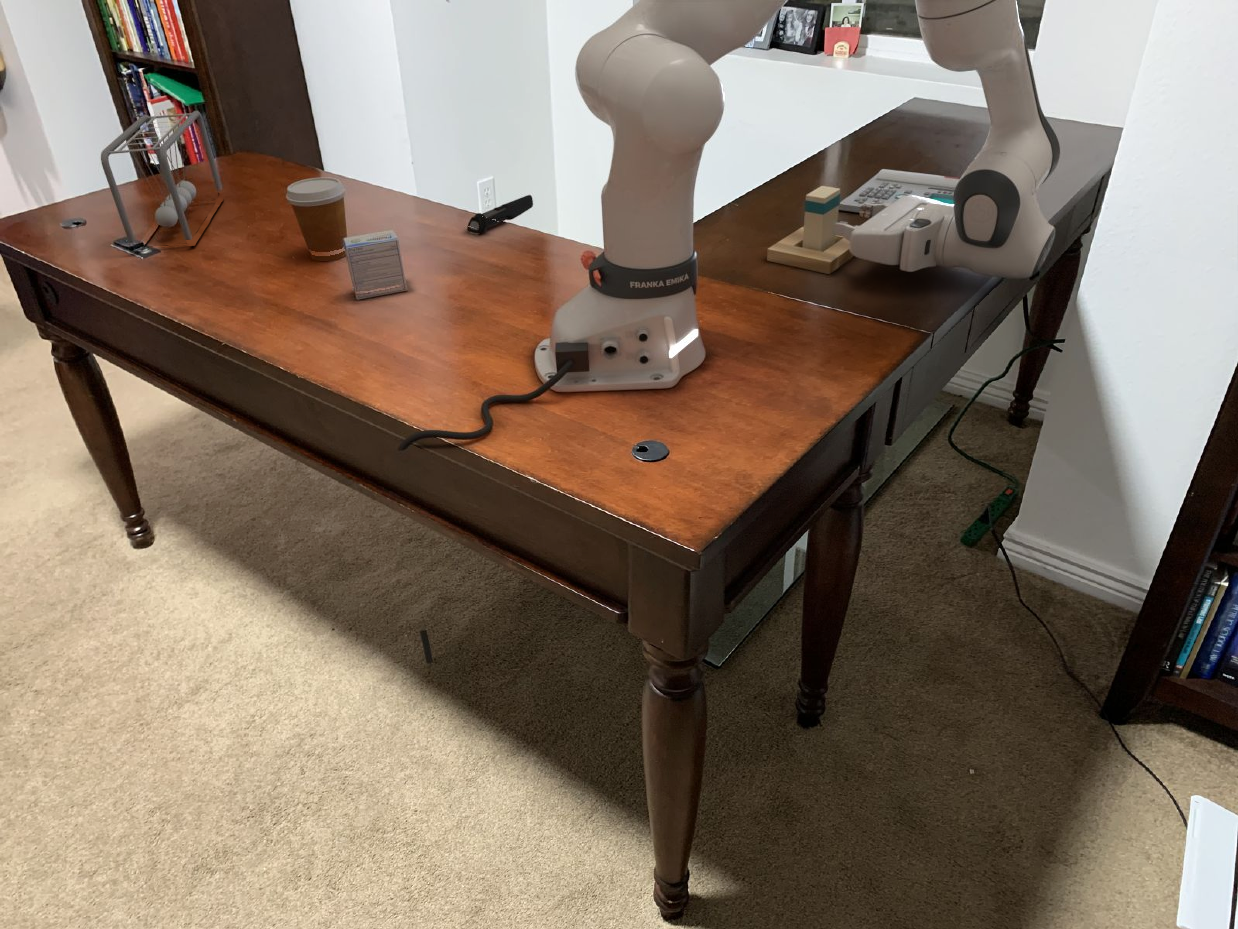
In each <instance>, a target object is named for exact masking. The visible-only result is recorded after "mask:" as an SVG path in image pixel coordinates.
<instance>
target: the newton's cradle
mask: <svg viewBox="0 0 1238 929" xmlns="http://www.w3.org/2000/svg"><path fill="white" fill-rule="evenodd" d="M176 117H177V118H178V117H180V118H179V119H178V120H173V121H171V123H175V124H174V125H168V126H165V128H170V129H168V130H164V131H161V133H165V134H164V135H163V136H161V135H160V137H159V135H158V131H156V129H158V128H162V126H156V127H155V125H154V124H155V122H154V121H155V120H156V119H164V118H176ZM186 117H187V118H186ZM184 119H185V120H184ZM195 121H197V125H198V128H199V132H200V136H201V139H202V143H203V146H204V149H205V153H206V157H207V161H208V164H209V168H210V171H211V174H212V177H213V178H212V179H213V181H214V185H215V189H216V191H217V190H222V189H223V185H222V181H221V178H220V174H219V171H218V168H217V163H216V160H215V156H214V153H213V149H212V144H211V142H210V139H209V138H210V137H209V135H208V131H207V128H206V124H205V120H204V118H203V115H202V113H201V112H200V111H199V110H194V111H192V112H190V113H177V114H165V115H152V116H151V115H148V114H142V115H141V116H140V117H139V118H138V119H137V120H136V121H134V122H133V123H132V124H131V125H130V126H129V127H128V128H126V129H125V130H124V131H123V132H122V133H121V134H119V135H118V136H117V137H116V138H115V139H114V140H113V141H112V142H110V143H109V144H108V145H107V146H106V147H105V148H103V150H101V152H100V164H101V167H102V169H103V172H104V175H105V178H106V181H107V184H108V186H109V189H110V192H111V195H112V198H113V200H114V203H115V206H116V209H117V213H118V215H119V218H120V221H121V223H122V227H123V230H124V232H125V235H126V238H127V241H128V243H133V242H136V243H137V240H136V237H135V234H134V231H133V229H132V226H131V222H130V219H129V217H128V214H127V211H126V209H125V205H124V203H123V200H122V196H121V193H120V191H119V188H118V185H117V183H116V180H115V176H114V173H113V170H112V167H111V165H110V158H109V156H110V155H112V154H113V155H116V154H126V153H132V156H133V158H134V160H135V162H136V163H137V165H138V167H139V169H140V171H141V173H142V175H143V177H144V179H145V180H146V183H147V184H148V186H149V188H150V190H151V192H152V193H153V195H154V197H155V199H156V201H157V203H158V205H159V206H160V207H158V208H157V209H156V210H155V212H154V219H155V221H157V223H158V224H159V225H160V227H163V228H172V227H174V226H175V225H176V224H177V223H178V221H179V223H180V227H181V230H182V233H183V237H184V239H185V241H186V240H190V239H192V238H193V236H192V234H191V231H190V227H189V224H188V220H187V218H186V215H185V211H186V210H187V208H188V206H190V205H191V204H190V203H191V202H192V201H193V200H194V199H195V197H196V196H197V189H196V186H195V185H194V184H193V183H192V182H191V181H188V180H186V178H185V170H184V168H185V167H184V160H183V151H182V142H181V136H182V135H183V134H184V133H185V132H186V130H187V129H188V128H189V127H190V126H191V125H192V124H193V123H194V122H195ZM181 122H182V123H181ZM165 123H166V124H167V121H160V122H159V121H158V124H165ZM180 123H181V124H180ZM144 130H145V132H143V131H144ZM134 133H135V134H134ZM171 133H172V134H171ZM133 134H134V135H133ZM142 134H143V135H144V134H147V136H148V139H149V140H150V142H149V144H152V145H153V146H152V147H148V145H147V143H146V142H145V141H144V140H145V139H144V137H143V136H142ZM138 136H140V137H139V138H137V137H138ZM167 137H168V138H167ZM166 138H167V139H166ZM165 139H166V140H165ZM136 140H142V142H140V143H139V142H138V143H137V141H136ZM177 140H179V147H180V156H181V166H182V167H181V168H182V174H183V179H182V180H181V178H180V174H179V164H178V155H177V146H176V142H177ZM133 141H134V144H135V145H136V147H137V148H135V149H132V148H131V147H130V146H131V145H132V146H133V143H131V142H133ZM123 143H124V144H123ZM140 144H141V145H143V144H144V146H145V148H140V147H139V145H140ZM173 145H174V151H175V152H174V153H175V161H176V168H175V166H174V165H173V159H172V150H171V149H172V148H171V147H172V146H173ZM120 146H121V147H120ZM126 147H128V148H129V149H125V148H126ZM168 150H169V155H170V156H169V155H168ZM151 151H152V152H153V151H154V152H155V155H156V158H157V161H158V165H159V167H158V165H157V162H156V161H155V159H154V157H153V155H152V153H151ZM135 152H136V153H138V152H140V154H141V156H142V158H143V160H144V162H145V164H146V166H147V168H148V170H149V171H150V173H151V176H152V177H153V179H154V182H155V183H156V185H157V186H158V189H159V190H160V193H161V195H162V196H163V201H162V202H161V203H160V201H159V199H158V198H157V195H156V194H155V191H154V189H153V188H152V186H151V183H150V182H149V180H148V179H147V177H146V174H145V173H144V171H143V169H142V167H141V166H140V163H139V161H138V160H137V158H136V156H135V154H134V153H135ZM142 152H148V153H149V156H150V157H151V160H152V161H153V163H154V165H155V167H156V169H157V170H158V173H159V174H160V179H161V187H160V185H159V183H158V181H157V179H156V176H155V175H154V173H153V171H152V170H151V168H150V166H149V164H148V161H147V159H146V158H145V156H144V155H143V153H142ZM174 173H175V174H176V176H177V179H178V181H177V184H176V182H175V178H174V177H175V176H174ZM164 184H165V187H166V189H167V194H168V195H167V196H165V189H164ZM161 188H162V189H161ZM223 190H224V189H223Z"/></svg>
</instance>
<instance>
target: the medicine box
mask: <svg viewBox="0 0 1238 929" xmlns="http://www.w3.org/2000/svg"><path fill="white" fill-rule="evenodd" d="M343 244H344V249H345V253H346V256H345V259H346V263H347V268H348V271H349V276H350V280H351V284H353V285H352V288H353V287H354V288H353V292H354V295H355V297H356V300H357V301H359V300H363V299H369V298H373V297H380V296H384V295H390V294H395V293H401V292H406V291H408V285H407V280H406V275H405V270H404V265H403V264H404V262H403V258H402V254H401V247H400V241H399V238H398V237H397V235H396V233H395V231H394V230H392V229H390V230H383V231H377V232H371V233H365V234H359V235H353V236H347V238H344V239H343ZM401 284H406V286H401V287H395V288H390V289H385V290H379V291H374V292H368V293H363V294H357V295H356V293H355V292H360V291H370V290H374V289H378V288H387V287H391V286H396V285H401ZM354 290H355V291H354Z"/></svg>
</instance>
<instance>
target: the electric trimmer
mask: <svg viewBox="0 0 1238 929" xmlns="http://www.w3.org/2000/svg"><path fill="white" fill-rule="evenodd" d="M533 206H534V200H533V196H532V195H531V194H528V195H525V196H522V197H520V198H516V199H514V200H511V201H509V202H507V203H503V204H501V205H499V206H497V207H494V208H492V209H490V210H488V211H485V212H482V213H481V212H478V213H476V214H475V215H474V216H472V217H471V218H469V221H468V223H467V228H466V230H467V232H468V234H472V235H473V234H474V235H483V234H484V233H485V232H486V230H487V229H489V228H492V227H493V226H494V227H495V226H496V225H498V224H500V223H502V222H505V221H512V220H514V219H515V218H517V217H519V216H521V215H523V214H524V213H526V212H528V211H529V210H530V209H532V208H533ZM482 216H483V217H482ZM486 217H487V218H486ZM492 219H496V221H495V220H492ZM497 221H499V222H497ZM468 226H471V227H474V228H471V227H468ZM475 228H476V229H475Z"/></svg>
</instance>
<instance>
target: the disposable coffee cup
mask: <svg viewBox="0 0 1238 929" xmlns="http://www.w3.org/2000/svg"><path fill="white" fill-rule="evenodd" d="M286 190H287V192H286V195H285V198H286V200H287V201H288V202H289V204H290V205H291V208H292V210H293V213H294V216H295V219H296V222H297V225H298V226H299V229H300V232H301V234H302V237H303V239H304V242H305V244H306V248H307V250H308V249H309V250H311V251H315V252H330V251H334V250H339V249H342V248H343V247H344V244H343V239H344V238H347V237H348V230H347V219H346V205H345V192H346V188H345V187H344V186H343V184H342V181H341V180H340V179H338V178H336V177H329V176H328V177H327V176H325V177H311V178H305V179H301V180H298V181H295V182H293V183H291V184H290V185H288V186H287V188H286ZM309 250H308V251H309ZM309 255H310V259H311V260H314V261H317V262H330V261H336V260H340V259H342V258H344V257H346V253H345V251H343V252H341V253H339V254H335V255H330V256H315V255H312V254H310V253H309Z"/></svg>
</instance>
